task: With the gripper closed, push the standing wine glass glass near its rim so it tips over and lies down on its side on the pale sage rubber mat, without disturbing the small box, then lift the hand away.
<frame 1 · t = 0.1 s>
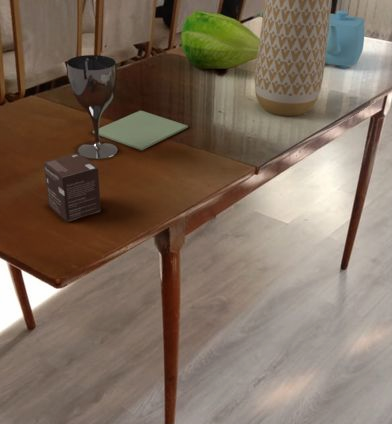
mat: (141, 130, 120), on the table
box: (75, 210, 96), on the table
vase: (284, 108, 132), on the table
teapot: (332, 64, 155), on the table
wine glass: (98, 151, 113), on the table
lettuce: (220, 70, 149), on the table
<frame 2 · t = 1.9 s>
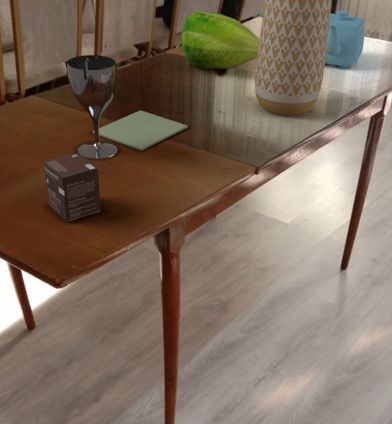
nothing on the table moved.
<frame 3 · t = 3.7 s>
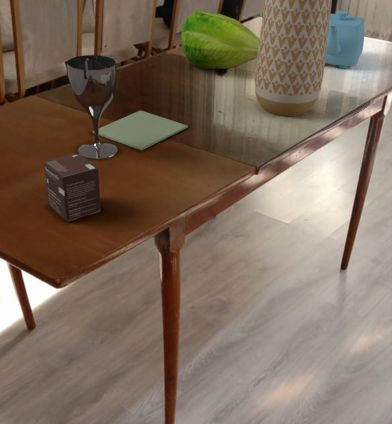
nothing on the table moved.
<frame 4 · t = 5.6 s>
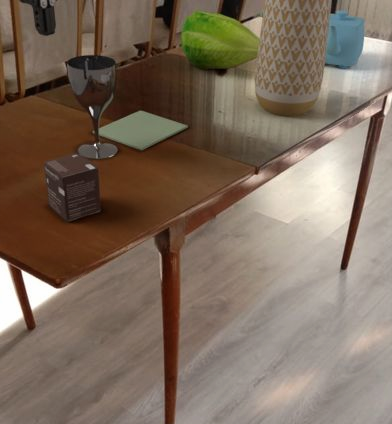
hand: (46, 33, 93), 21 cm above the table, tool pointing down, fingers closed
nothing on the table moved.
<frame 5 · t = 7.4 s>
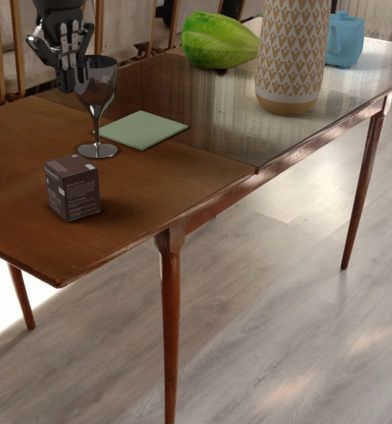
hand: (66, 91, 101), 12 cm above the table, tool pointing down, fingers closed
wine glass: (97, 150, 113), on the table, touching gripper
everything else where it was.
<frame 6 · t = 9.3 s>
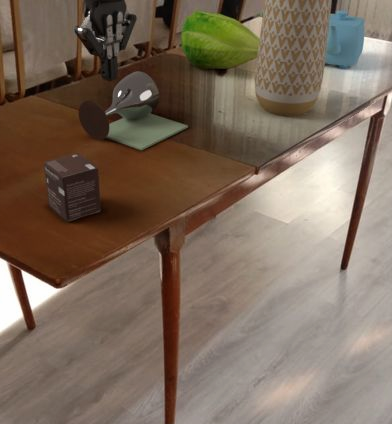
hand: (109, 79, 108), 11 cm above the table, tool pointing down, fingers closed
wine glass: (93, 121, 114), point 4 cm above the table, touching mat
everything else where it was.
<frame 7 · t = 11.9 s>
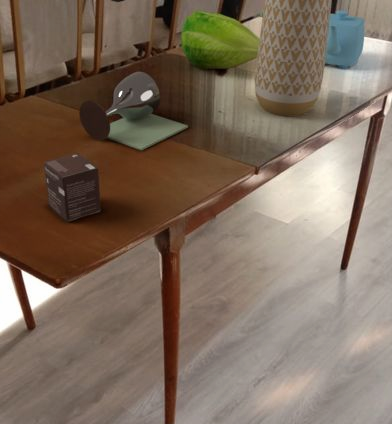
hand: (117, 0, 102), 23 cm above the table, tool pointing down, fingers closed
nothing on the table moved.
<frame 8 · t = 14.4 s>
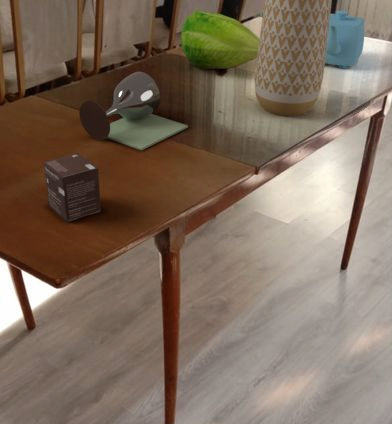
nothing on the table moved.
at the end: wine glass tilted 86°; wine glass touching mat, table; box moved 0.2 cm from its start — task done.
